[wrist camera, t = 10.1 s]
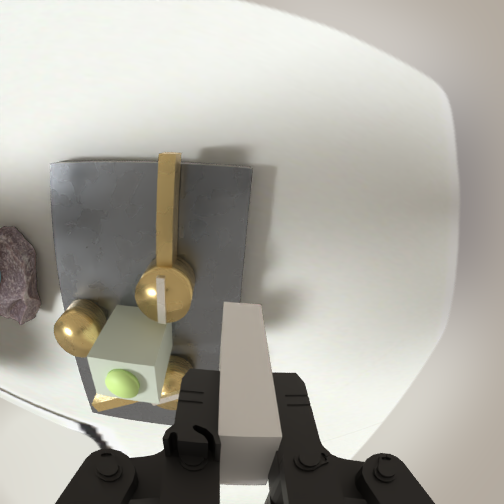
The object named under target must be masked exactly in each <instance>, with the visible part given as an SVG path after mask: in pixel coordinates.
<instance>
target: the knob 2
mask: <svg viewBox="0 0 504 504" xmlns="http://www.w3.org/2000/svg"><path fill="white" fill-rule="evenodd" d="M190 368H193V366H192V365H191V364H190V363H189V362H188V361H187V360H185V359H183V358H181V357H178V356H173V355H170V358H169V363H168V367H167V371H166V375H165V380H164V384H163V389H162V393H161V398H160V402H159V404H155V403H151V404H152V405H153V406H155V405H157V406H159V407H161V408H163V409H167V410H176V409H177V403H178V398H179V392H180V386H181V381H182V377H183V376H184V375H185V374H186V373H187V371H188V370H189V369H190ZM193 369H194V368H193ZM136 402H140V401H134V400H127V399H121V398H115V397H110V396H104V395H99V394H97V393H96V395H95V398H94V400H93V402H92V406H93V407H94V408H95V409H96V410H97V411H98V412H100V411H104V410H108V409H113V408H117V407H121V406H125V405H129V404H133V403H136Z"/></svg>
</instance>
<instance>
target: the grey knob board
mask: <svg viewBox="0 0 504 504" xmlns="http://www.w3.org/2000/svg"><path fill="white" fill-rule="evenodd" d="M252 169H253V168H252V167H249V166H237V165H223V164H208V163H190V162H181V168H180V186H179V208H178V241H177V257H180V258H182V259H183V260H185V261H186V262H187V263H188V264H189V265H190V266H191V268H192V269H193V271H194V274H195V287H194V291H193V296H192V300H191V305H190V308H189V311H188V312H187V314H186V315H185V316H184V317H183V318H181V319H180V320H178V321H175V322H172V344H173V346H172V350H171V354H170V355H173V356H178V357H181V358H183V359H185V360H187V361H188V362H189V363H190V364H191V365H192V366H193V368H194V369H204V370H216V371H219V363H220V346H221V333H222V319H223V307H224V302H234V303H240V297H241V286H242V275H243V264H244V253H245V242H246V232H247V221H248V210H249V200H250V190H251V179H252ZM157 179H158V161H67V162H56V163H51V164H50V185H51V209H52V224H53V236H54V246H55V254H56V262H57V270H58V276H59V283H60V289H61V295H62V300H63V306H64V311H65V312H64V313H63V314H62V315H61V317H60V318H59V319H58V320H57V322H56V323H55V325H54V335H55V338H56V340H57V342H58V343H59V345H60V346H61V347H62V348H63V349H64V350H65V351H66V352H68V353H70V354H71V355H73V356H75V358H76V361H77V365H78V368H79V372H80V375H81V379H82V382H83V385H84V388H85V391H86V394H87V397H88V400H89V403H90V406H91V409H92V412H94V413H98V414H103V415H108V416H113V417H119V418H124V419H130V420H137V421H143V422H150V423H158V424H166V425H174V421H175V415H176V410H167V409H163V408H161V407H159V406H157V405H155V406H153V405H152V404H151V403H148V402H136V403H133V404H129V405H125V406H121V407H117V408H113V409H108V410H104V411H100V412H98V411H97V410H96V409H95V408H94V407H93V406H92V402H93V400H94V398H95V395H96V393H97V392H96V389H95V385H94V382H93V378H92V374H91V371H90V367H89V363H88V359H87V355H88V353H89V352H90V350H91V348H92V346H93V345H94V343H95V341H96V339H97V338H98V336H99V334H100V332H101V331H102V329H103V327H104V326H105V324H106V322H107V320H108V319H109V317H110V315H111V314H112V312H113V310H114V309H115V307H116V306H117V305H124V306H133V307H138V305H137V303H136V300H135V289H136V286H137V284H138V282H139V280H140V279H141V277H142V275H143V274H144V272H145V270H146V269H147V267H148V265H149V264H150V263H151V261H153V260H154V259H155V258H156V212H157Z"/></svg>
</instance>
